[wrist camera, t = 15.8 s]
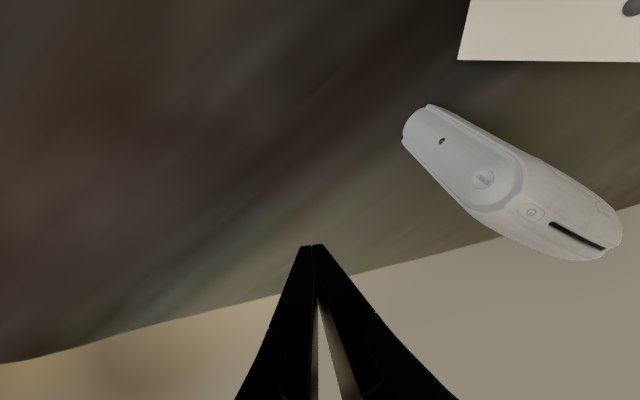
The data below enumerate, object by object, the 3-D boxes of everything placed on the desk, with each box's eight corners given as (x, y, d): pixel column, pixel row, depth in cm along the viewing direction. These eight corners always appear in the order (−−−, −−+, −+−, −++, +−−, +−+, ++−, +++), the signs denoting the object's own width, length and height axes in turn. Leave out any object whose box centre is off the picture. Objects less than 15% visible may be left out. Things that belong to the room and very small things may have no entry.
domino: (480, -43, 14) (763, -77, 10) (480, -38, 16) (725, -66, 12) (456, 60, 17) (670, 62, 13) (458, 55, 19) (650, 57, 15)
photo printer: (390, 141, 22) (484, 246, 12) (422, 93, 20) (569, 169, 10) (470, 182, 26) (594, 289, 15) (505, 145, 24) (672, 239, 14)
